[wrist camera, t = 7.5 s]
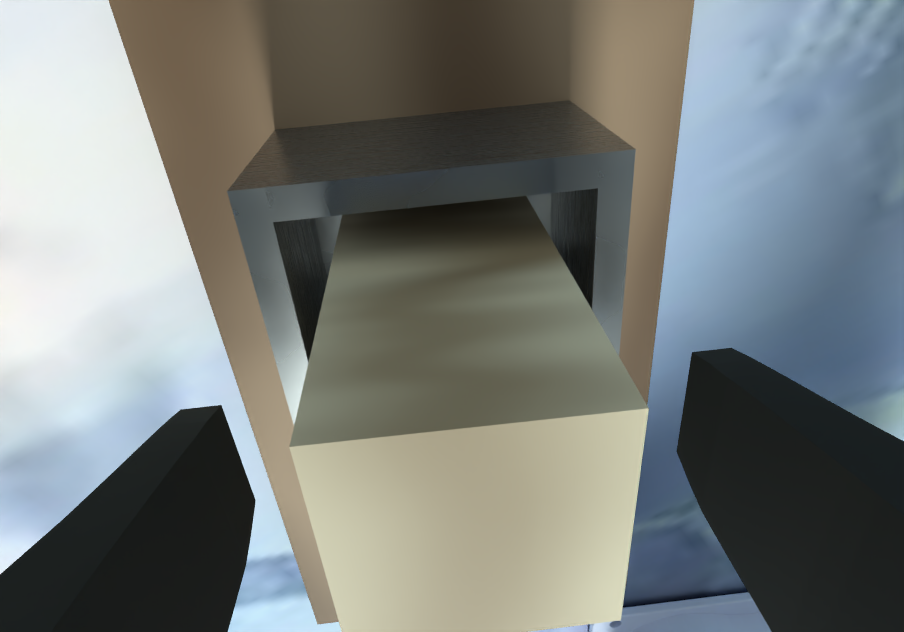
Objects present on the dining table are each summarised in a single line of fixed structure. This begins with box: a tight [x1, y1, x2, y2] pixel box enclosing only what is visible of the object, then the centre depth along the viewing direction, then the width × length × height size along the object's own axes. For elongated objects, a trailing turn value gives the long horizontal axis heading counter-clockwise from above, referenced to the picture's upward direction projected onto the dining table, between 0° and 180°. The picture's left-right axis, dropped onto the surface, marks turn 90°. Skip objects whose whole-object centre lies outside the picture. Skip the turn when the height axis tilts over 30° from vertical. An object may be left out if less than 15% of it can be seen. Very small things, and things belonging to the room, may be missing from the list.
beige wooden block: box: [289, 196, 649, 632], centre depth 11 cm, size 4×4×8 cm
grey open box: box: [227, 100, 636, 424], centre depth 13 cm, size 7×7×4 cm
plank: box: [109, 0, 694, 624], centre depth 17 cm, size 12×22×1 cm, turn 5°
